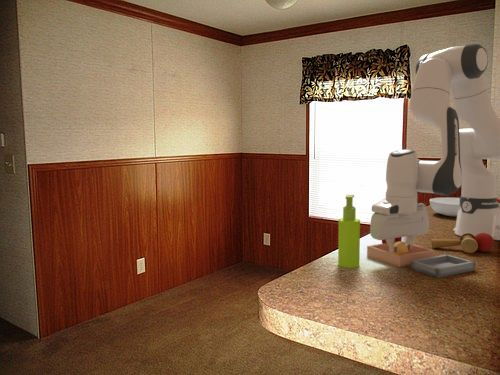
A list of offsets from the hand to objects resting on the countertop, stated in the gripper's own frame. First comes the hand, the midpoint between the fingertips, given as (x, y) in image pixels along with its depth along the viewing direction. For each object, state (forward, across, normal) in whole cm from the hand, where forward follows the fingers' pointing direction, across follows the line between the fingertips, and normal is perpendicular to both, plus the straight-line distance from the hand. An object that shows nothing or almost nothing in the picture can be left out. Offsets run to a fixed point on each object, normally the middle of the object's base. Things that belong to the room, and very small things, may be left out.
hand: (400, 251), depth 128 cm
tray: (+2, -2, +14) cm, 14 cm away
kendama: (+3, -25, +2) cm, 25 cm away
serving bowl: (+3, -76, -42) cm, 87 cm away
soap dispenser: (+2, +17, -2) cm, 17 cm away
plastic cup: (+2, -10, -14) cm, 17 cm away
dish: (+2, 0, 0) cm, 2 cm away
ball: (0, 0, 0) cm, 0 cm away
